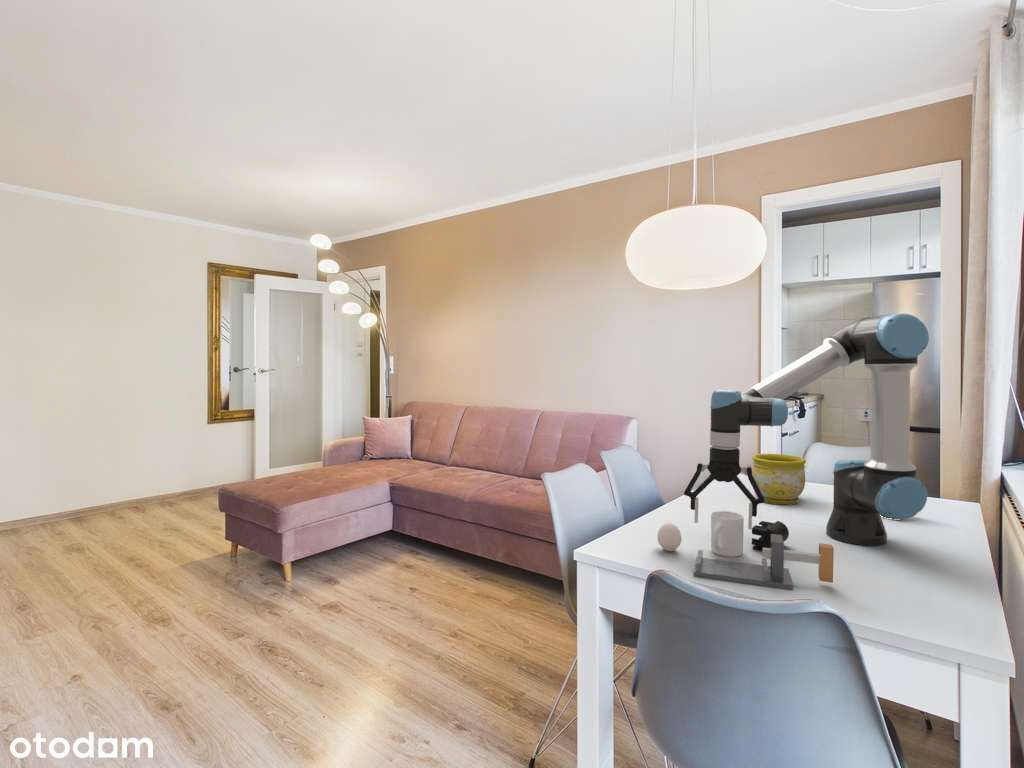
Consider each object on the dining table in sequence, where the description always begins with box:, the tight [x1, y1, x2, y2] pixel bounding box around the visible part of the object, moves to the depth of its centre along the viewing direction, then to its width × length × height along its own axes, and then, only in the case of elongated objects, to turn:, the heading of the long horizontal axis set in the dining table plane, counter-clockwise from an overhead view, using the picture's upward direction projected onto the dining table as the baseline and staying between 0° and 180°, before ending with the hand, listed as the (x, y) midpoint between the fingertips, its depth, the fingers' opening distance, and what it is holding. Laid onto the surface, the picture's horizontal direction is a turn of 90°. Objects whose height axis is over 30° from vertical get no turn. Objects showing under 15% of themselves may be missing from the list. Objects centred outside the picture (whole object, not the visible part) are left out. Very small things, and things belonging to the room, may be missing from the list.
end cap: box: [751, 520, 790, 552], centre depth 150 cm, size 10×7×7 cm
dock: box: [693, 534, 794, 591], centre depth 130 cm, size 22×11×10 cm, turn 67°
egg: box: [657, 521, 682, 552], centre depth 148 cm, size 6×6×8 cm
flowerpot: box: [751, 453, 807, 505], centre depth 201 cm, size 18×18×16 cm
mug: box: [710, 510, 745, 558], centre depth 145 cm, size 12×8×10 cm
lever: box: [761, 542, 835, 583], centre depth 126 cm, size 15×3×8 cm, turn 67°
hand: (722, 524), depth 145 cm, fingers open, 13 cm apart
